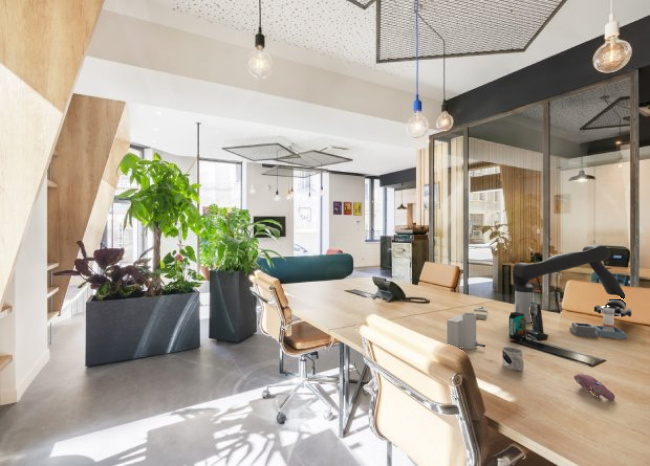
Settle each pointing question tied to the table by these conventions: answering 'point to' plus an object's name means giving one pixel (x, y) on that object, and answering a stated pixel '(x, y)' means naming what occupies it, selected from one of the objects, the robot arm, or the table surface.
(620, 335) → the tray
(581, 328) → the block
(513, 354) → the mug
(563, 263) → the robot arm
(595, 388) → the video game controller
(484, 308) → the electrical outlet
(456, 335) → the grey stepped block
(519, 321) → the beverage can
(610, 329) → the cylinder
